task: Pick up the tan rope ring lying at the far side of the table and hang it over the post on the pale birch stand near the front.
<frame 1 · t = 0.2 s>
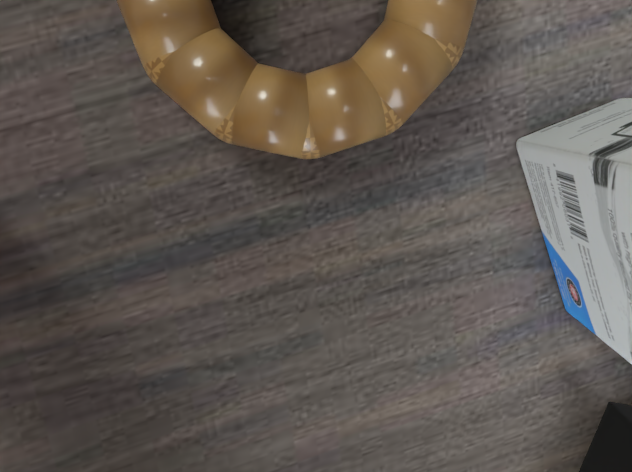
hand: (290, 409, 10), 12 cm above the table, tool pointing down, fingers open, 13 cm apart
ink box: (586, 208, 22), on the table
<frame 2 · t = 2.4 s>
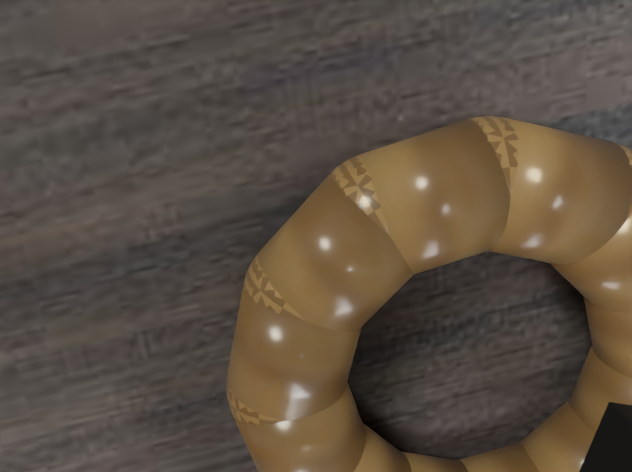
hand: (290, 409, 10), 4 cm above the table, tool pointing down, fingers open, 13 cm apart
ring: (474, 369, 13), point 1 cm above the table
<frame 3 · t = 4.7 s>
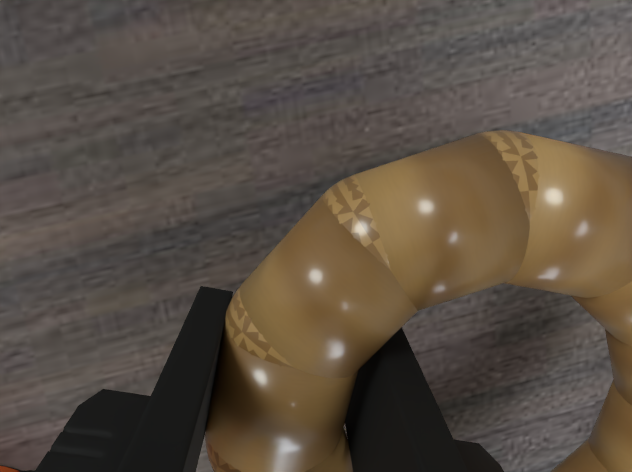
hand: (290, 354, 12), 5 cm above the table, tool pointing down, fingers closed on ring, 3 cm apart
ring: (485, 412, 11), point 6 cm above the table, touching gripper
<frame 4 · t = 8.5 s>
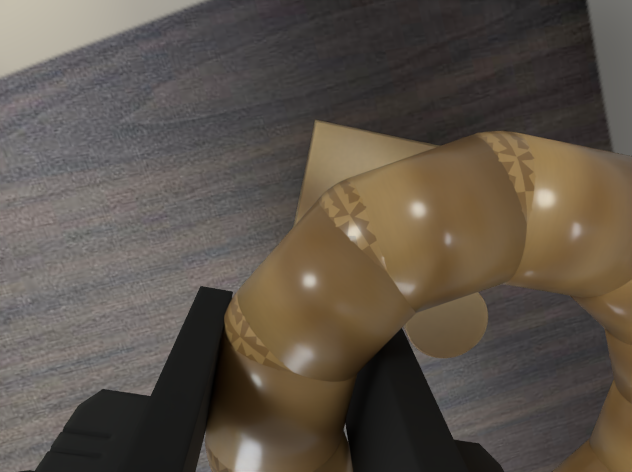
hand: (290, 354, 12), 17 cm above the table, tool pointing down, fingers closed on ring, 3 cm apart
ring: (485, 413, 11), point 18 cm above the table, touching gripper
stand: (376, 215, 28), on the table
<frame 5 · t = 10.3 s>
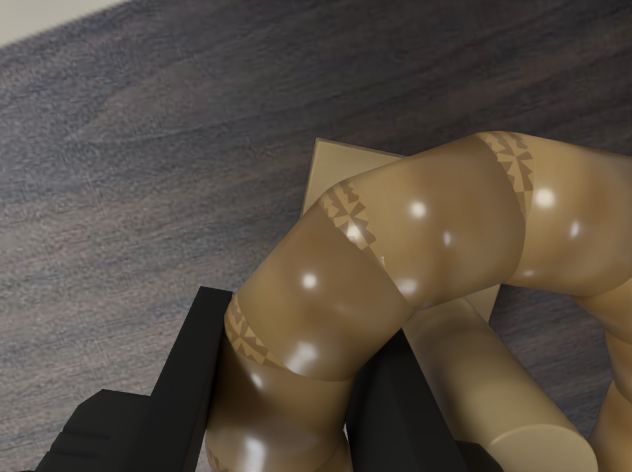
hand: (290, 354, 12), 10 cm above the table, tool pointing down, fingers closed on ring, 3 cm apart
ring: (485, 412, 11), point 11 cm above the table, touching gripper
stand: (393, 256, 22), on the table
when the fingers open (11 cm above the table, at t = 12.4 s): ring drops 9 cm, resting on stand.
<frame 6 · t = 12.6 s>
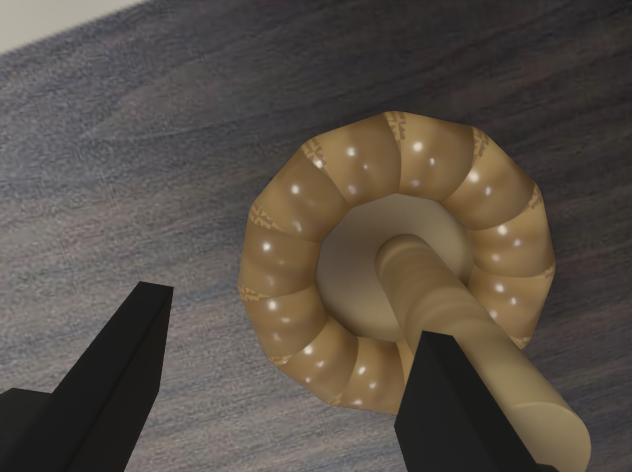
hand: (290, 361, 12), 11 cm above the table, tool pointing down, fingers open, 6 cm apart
ring: (395, 272, 20), point 3 cm above the table, touching stand
stand: (397, 251, 23), on the table
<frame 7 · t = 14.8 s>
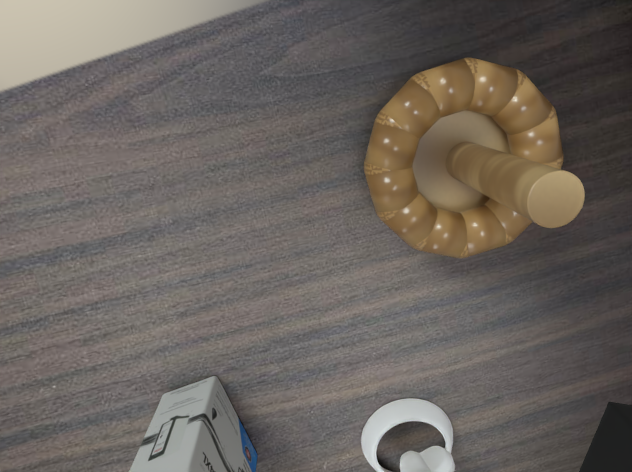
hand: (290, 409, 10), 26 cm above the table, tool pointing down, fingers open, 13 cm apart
ink box: (210, 423, 40), on the table
ring: (462, 163, 32), point 3 cm above the table, touching stand
white vr controller: (406, 435, 42), on the table
stand: (457, 158, 35), on the table
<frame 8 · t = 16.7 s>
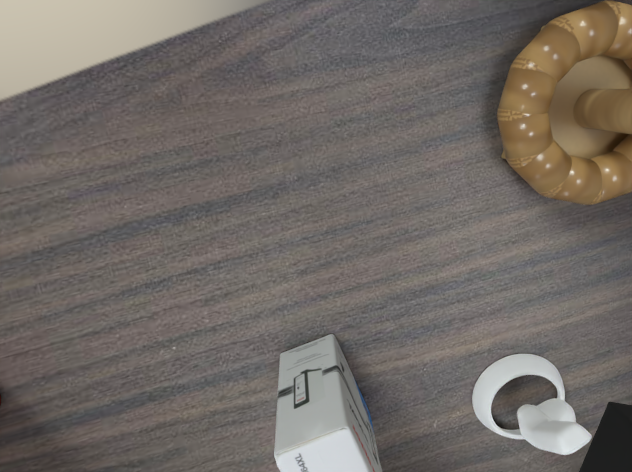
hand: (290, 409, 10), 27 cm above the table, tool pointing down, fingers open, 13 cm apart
ink box: (324, 383, 41), on the table
ring: (595, 108, 32), point 3 cm above the table, touching stand
white vr controller: (515, 392, 42), on the table
stand: (579, 108, 35), on the table
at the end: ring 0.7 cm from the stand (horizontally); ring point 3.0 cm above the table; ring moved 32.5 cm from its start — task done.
